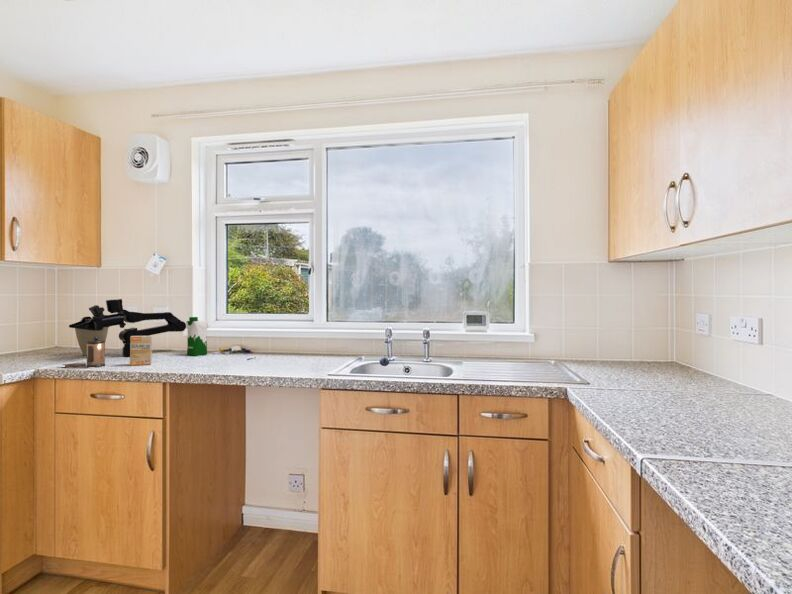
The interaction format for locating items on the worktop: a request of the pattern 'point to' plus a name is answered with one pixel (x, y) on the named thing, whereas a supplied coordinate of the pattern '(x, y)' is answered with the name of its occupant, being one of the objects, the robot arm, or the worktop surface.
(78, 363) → the trivet
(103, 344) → the copper cylinder
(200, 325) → the milk carton
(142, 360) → the supplement box
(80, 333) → the plant pot
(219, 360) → the worktop surface
